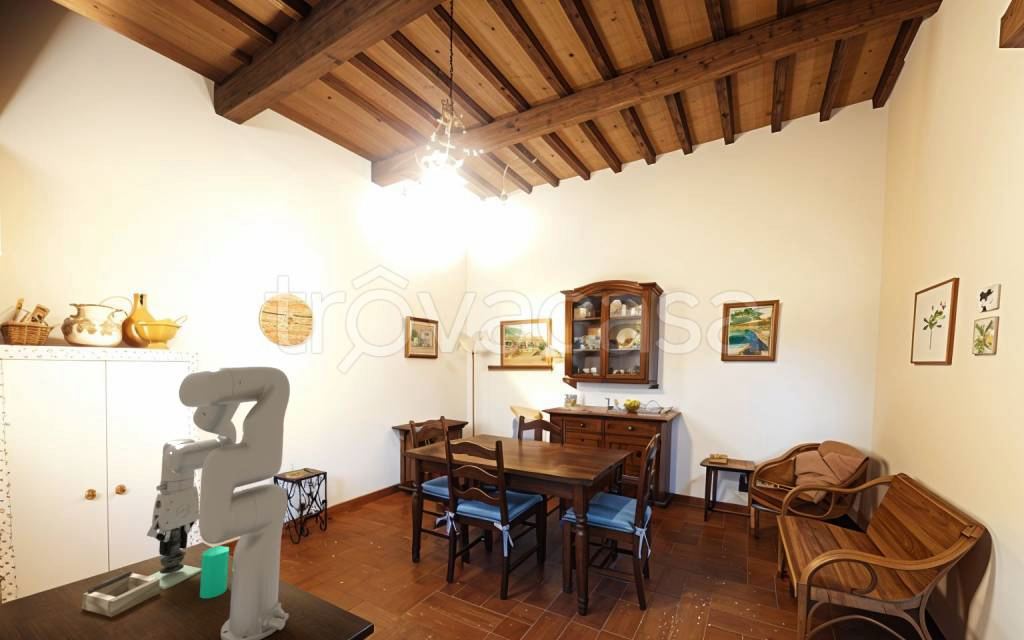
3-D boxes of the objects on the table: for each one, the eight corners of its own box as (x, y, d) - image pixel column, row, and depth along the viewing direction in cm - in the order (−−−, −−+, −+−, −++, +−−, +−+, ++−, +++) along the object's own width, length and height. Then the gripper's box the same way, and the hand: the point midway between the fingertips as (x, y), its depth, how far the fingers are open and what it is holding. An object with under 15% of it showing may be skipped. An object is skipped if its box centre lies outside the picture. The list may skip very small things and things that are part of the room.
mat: (202, 570, 123) (202, 568, 123) (165, 589, 114) (165, 587, 114) (176, 565, 126) (176, 563, 126) (138, 583, 116) (138, 580, 116)
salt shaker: (164, 565, 122) (167, 521, 123) (188, 562, 124) (191, 519, 124) (154, 575, 116) (157, 530, 117) (179, 572, 118) (182, 527, 119)
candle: (213, 599, 109) (215, 551, 110) (193, 596, 110) (196, 548, 111) (232, 587, 115) (235, 541, 116) (213, 584, 116) (216, 538, 117)
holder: (158, 593, 112) (160, 575, 112) (111, 616, 102) (113, 597, 102) (130, 586, 115) (131, 568, 115) (81, 608, 105) (83, 589, 105)
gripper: (155, 495, 112) (150, 567, 111) (215, 477, 128) (211, 540, 127) (135, 492, 115) (130, 563, 113) (196, 475, 131) (192, 537, 129)
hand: (173, 550), depth 120 cm, fingers open, 3 cm apart
